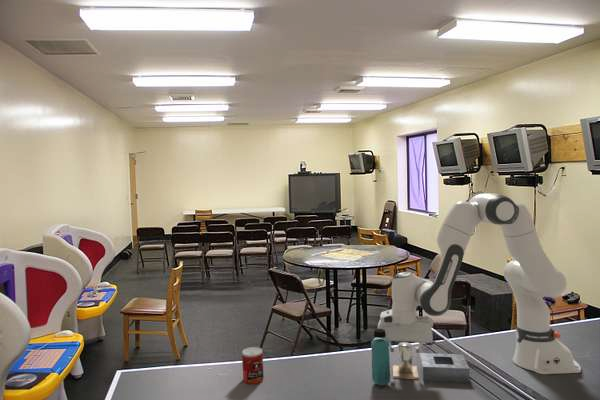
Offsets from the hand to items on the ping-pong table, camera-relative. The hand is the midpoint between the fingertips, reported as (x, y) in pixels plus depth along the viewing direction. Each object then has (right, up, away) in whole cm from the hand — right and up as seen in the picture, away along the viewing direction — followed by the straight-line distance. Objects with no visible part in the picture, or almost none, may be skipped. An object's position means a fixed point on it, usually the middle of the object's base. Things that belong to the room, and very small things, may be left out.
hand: (404, 352), depth 162 cm
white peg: (0, -7, 0) cm, 7 cm away
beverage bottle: (-10, -9, -8) cm, 16 cm away
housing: (+14, -8, -1) cm, 16 cm away
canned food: (-57, -10, 0) cm, 58 cm away
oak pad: (0, -8, 0) cm, 8 cm away
